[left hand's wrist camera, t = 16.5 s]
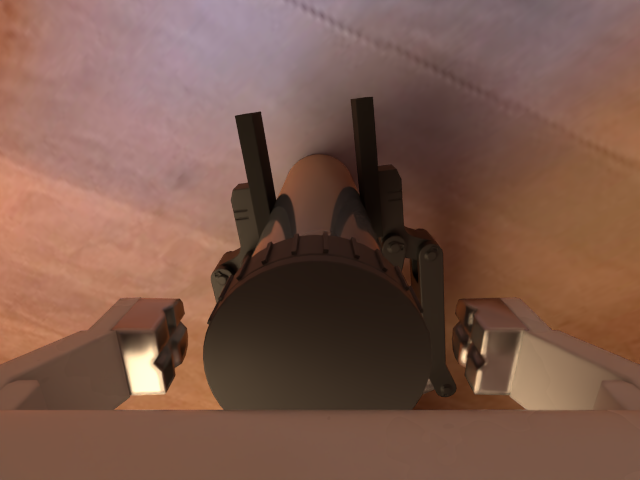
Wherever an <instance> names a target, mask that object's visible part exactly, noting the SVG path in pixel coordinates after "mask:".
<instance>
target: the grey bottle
mask: <svg viewBox="0 0 640 480" xmlns="http://www.w3.org/2000/svg"><path fill="white" fill-rule="evenodd" d="M323 232H328V235H330V236H338V237H342V238H346V239H351V237H354V238H356V242H358V243H361V244H363V245H366V246H367V247H369V248H371V249H373V250H376V249H379V250H380V251H381V254H382V256H383V257H384V258H386V257H385V255H384V253H383V250H382V248H381V246H380V243H379V241H378V238H377V236H376V234H375V231H374V229H373V226H372V224H371V222H370V219H369V217H368V214H367V212H366V210H365V207H364V205H363V202H362V200H361V198H360V195H359V193H358V191H357V188H356V186H355V183H354V181H353V179H352V176H351V174H350V172H349V170H348V169H347V167H346V166H345V165H344V164H343V163H342V162H341V161H339V160H338V159H336V158H334V157H332V156H329V155H324V154H314V155H310V156H307V157H304V158H303V159H301V160H299V161H298V162H297V163H296V164H295V165H294V166H293V167H292V168H291V170H290V171H289V173H288V175H287V178H286V180H285V182H284V184H283V187H282V189H281V191H280V193H279V196H278V198H277V200H276V202H275V205H274V207H273V209H272V212H271V214H270V216H269V218H268V221H267V223H266V225H265V227H264V230H263V232H262V234H261V236H260V239H259V241H258V243H257V246H256V248H255V250H254V252H253V255H252V257H253V256H254V255H255V254H257V253H258V252H259V251H261V250H263V249H265V248H266V247H267V244H268V243H269V242H271V241H272V243H273V244H275V243H277V242H280V241H282V240H286V239H290V238H294V234H297V233H299V236H306V235H323Z"/></svg>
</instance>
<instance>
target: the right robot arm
mask: <svg viewBox="0 0 640 480" xmlns="http://www.w3.org/2000/svg"><path fill="white" fill-rule="evenodd" d="M351 108H352V119H353V129H354V140H355V151H356V161H357V172H358V182H359V193H360V198H361V200H362V202H363V205H364V207H365V210H366V212H367V214H368V217H369V219H370V222H371V224H372V226H373V229H374V231H375V234H376V236H377V238H378V241H379V243H380V246H381V248H382V250H383V253H384V255H385V257H386V259H387V260H388V261H389V262H390V263H391V264H392V265H393V266H394V267H395V266H396V265H398V266H399V268H400V269H401V272H402V268H403V263H404V258H410V273H411V286H412V288H413V290H414V292H415V294H416V296H417V298H418V300H419V302H420V304H421V306H422V308H423V310H424V312H423V313H421V315H422V317H423V319H424V321H425V324H426V326H427V328H428V330H429V332H430V340H431V345H432V364H431V372H430V375H429V379H428V382H427V385H426V387H425V389H424V392H423V394H425V393H427V392H430V391H432V390H435V391H436V393H437V394H438V395H439V396H441V397H449V396H451V395H453V394H454V393H455V392H456V389H457V388H456V384H455V382H454V380H453V378H452V376H451V374H450V372H449V370H448V368H447V365H446V363H445V320H444V275H443V252H442V249H441V248H440V246H439V245H438V244H437V242H436V241H435V240H434V239H433V238H432V236H431V235H430V234H429V233H428V232H427V231H426V230H424V229H416V230H415V229H410V228H407V227H405V226H404V220H403V201H402V183H401V177H400V175H399V173H398V171H397V169H396V168H395V167H394V166H393V165H383V166H378V161H377V148H376V134H375V121H374V107H373V97H364V98H357V99H351ZM235 119H236V124H237V129H238V134H239V139H240V144H241V149H242V154H243V159H244V164H245V169H246V174H247V179H248V183H242V184H238V185H237V186H236V187H235V188H234V189H233V192H232V197H231V203H232V207H233V211H234V217H235V221H236V226H237V230H238V235H239V240H240V245H241V247H240V248H239V249H237V250H235V251H229V252H226V253H225V254H224V255H223V257H222V258H221V260H220V262H219V263H218V265H217V266H216V268H215V270H214V271H213V273H212V275H211V283H212V287H213V291H214V295H215V299H216V303H217V302H218V298H219V296H220V294H221V292H222V290H223V288H224V286H225V284H226V282H227V280H228V278H229V277H230V275H233V276H234V275H235V274H236V273H237V271H238V270H239V269H240V267H241V266H242V264H243V262H244V260H245V258H246V257H247V256H249V257H250V258H251V257H252V255H253V252H254V250H255V248H256V246H257V243H258V241H259V239H260V236H261V234H262V232H263V230H264V227H265V225H266V223H267V221H268V218H269V216H270V214H271V212H272V209H273V207H274V205H275V202H276V196H275V190H274V185H273V179H272V173H271V168H270V162H269V156H268V150H267V145H266V139H265V133H264V127H263V122H262V116H261V112H255V113H248V114H242V115H237V116H235Z"/></svg>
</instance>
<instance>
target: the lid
mask: <svg viewBox="0 0 640 480" xmlns="http://www.w3.org/2000/svg"><path fill="white" fill-rule="evenodd" d="M423 312H424V310H423V308H422V306H421V304H420V302H419V300H418V298H417V296H416V294H415V292H414V290H413V288H412V286H408V284H407V282H406V280H405V278H404V276H403V274H402V272H401V269H400V268H399V266H398V265H396V266H395V267H394V266H393V265H392V264H391V263H390V262H389V261H388V260H387V259H386V258H384V257H383V256H382V254H381V251H380V250H379V249H376V250H373V249H371V248H369V247H367V246H366V245H363V244H361V243H358V242H356V238H354V237H351V239H346V238H342V237H338V236H330V235H328V232H323V235H306V236H299V233H297V234H294V238H290V239H286V240H282V241H280V242H277V243H275V244H273V243H272V241H271V242H269V243H268V244H267V247H266V248H265V249H263V250H261V251H259V252H258V253H257V254H255V255H254V256H253V257H251V258H250V257H249V256H247V257H246V258H245V260H244V262H243V264H242V266H241V267H240V269H239V270H238V271H237V273H236V274H235V275H234V276H233V275H230V277H229V278H228V280H227V282H226V284H225V286H224V288H223V290H222V292H221V294H220V296H219V298H218V302H217V304H216V306H215V308H214V310H213V312H212V314H211V316H210V318H209V320H208V323H207V324H209V327H208V329H207V332H206V336H205V341H204V346H203V362H204V370H205V374H206V378H207V381H208V384H209V386H210V389H211V391H212V393H213V395H214V397H215V398H216V400H217V401H218V403H219V404H220V406H221V407H222V408H223V409H224V410H412V409H413V408H414V406H415V405H416V404H417V402H418V400H419V399H420V397H421V396H422V394H423V392H424V389H425V387H426V385H427V382H428V379H429V375H430V372H431V364H432V345H431V340H430V332H429V330H428V328H427V326H426V324H425V321H424V319H423V317H422V315H421V313H423Z"/></svg>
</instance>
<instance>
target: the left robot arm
mask: <svg viewBox="0 0 640 480" xmlns="http://www.w3.org/2000/svg"><path fill="white" fill-rule="evenodd" d="M184 314H185V312H184V306H183V302H182V301H181V300H180V299H171V298H121V299H119V300H118V301H117V302H116V303H115V304H114V305H113V306H112V307H111V308H110V309H109V310H108V311H107V312H106V313H105V314H104V315H103V316H102V317H101V318H100V319H99V320H98V321H97V322H96V323H95V324H94V325H93V326H92V327H91V328H90V329H89V330H88V331H79V332H77V333H75V334H72V335H70V336H67V337H65V338H63V339H60V340H58V341H56V342H53V343H51V344H48V345H46V346H44V347H41V348H39V349H37V350H34V351H32V352H29V353H27V354H25V355H22V356H20V357H17V358H15V359H13V360H10V361H8V362H6V363H3V364H1V365H0V480H640V365H639V364H637V363H634V362H632V361H629V360H627V359H625V358H622V357H620V356H618V355H615V354H613V353H610V352H608V351H606V350H603V349H601V348H599V347H596V346H594V345H592V344H589V343H587V342H584V341H582V340H580V339H577V338H575V337H573V336H570V335H568V334H565V333H563V332H561V331H552V330H551V329H550V328H549V327H548V326H547V325H546V324H545V323H544V322H543V321H542V320H541V319H540V318H539V317H538V316H537V315H536V314H535V313H534V312H533V311H532V310H531V309H530V308H529V307H528V306H527V305H526V304H525V303H524V302H523V301H522V300H521V299H519V298H516V297H515V298H476V299H459V300H458V303H457V305H456V312H455V314H456V316H457V317H458V319H459V322H458V323H457V325H456V326H455V327H454V328H453V334H452V346H453V352H454V355H455V358H456V360H457V362H458V364H460V365H462V366H463V367H465V368H466V369H465V377H466V379H467V381H468V383H469V385H470V386H471V388H472V390H473V392H474V394H483V395H510V397H511V398H512V399H513V400H515V401H516V402H517V403H518V404H520V405H521V406H522V407H524V408H525V409H526V410H114V409H115V408H117V407H118V406H119V405H120V404H122V403H123V402H124V401H126V400H127V399H128V398H129V397H130V395H156V394H166V392H167V390H168V388H169V387H170V385H171V383H172V381H173V379H174V377H175V369H174V368H175V367H177V366H178V365H180V364H182V362H183V360H184V358H185V356H186V351H187V347H188V333H187V328H186V327H185V326H184V325H183V323H182V322H181V319H182V317H183V316H184Z"/></svg>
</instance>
